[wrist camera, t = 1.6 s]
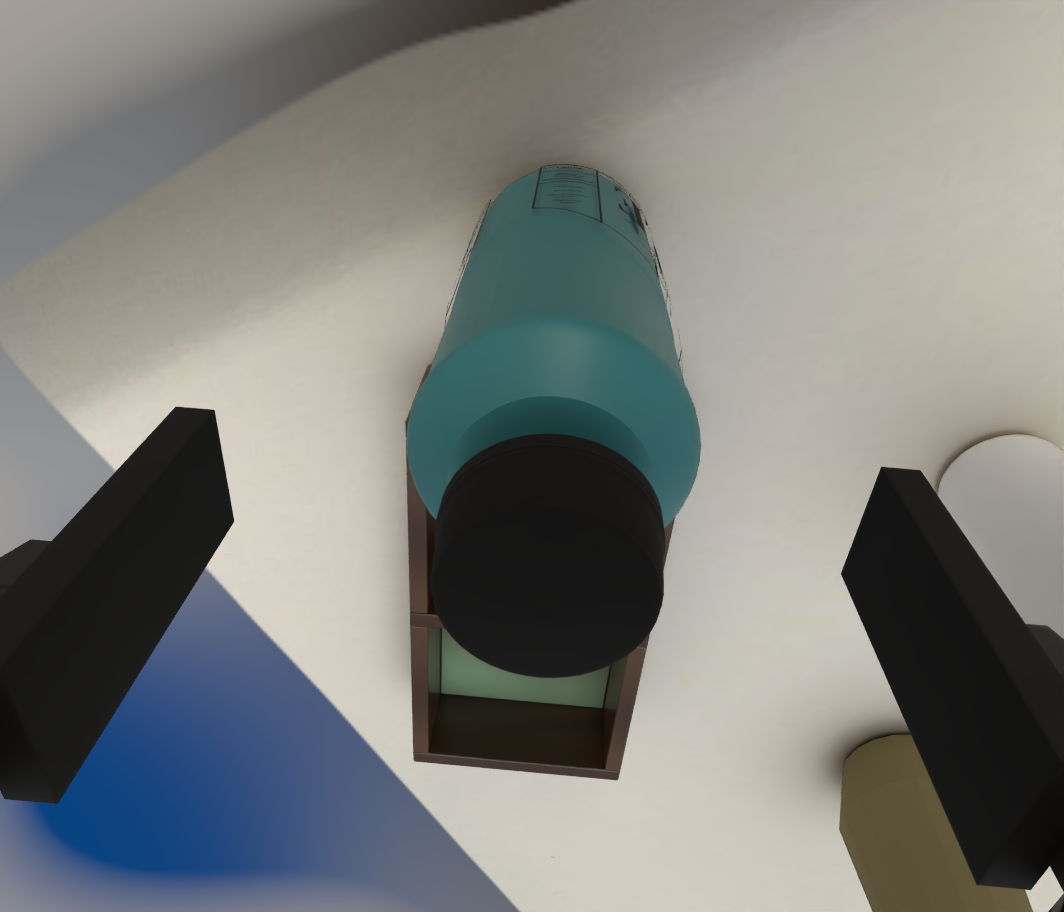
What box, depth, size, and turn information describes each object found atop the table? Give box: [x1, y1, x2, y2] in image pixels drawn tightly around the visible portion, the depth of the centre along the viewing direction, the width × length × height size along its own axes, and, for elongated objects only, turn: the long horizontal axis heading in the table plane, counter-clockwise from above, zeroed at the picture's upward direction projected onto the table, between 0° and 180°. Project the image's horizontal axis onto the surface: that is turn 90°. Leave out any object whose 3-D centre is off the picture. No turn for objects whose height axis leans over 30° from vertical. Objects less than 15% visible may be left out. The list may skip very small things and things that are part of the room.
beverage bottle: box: [406, 164, 701, 678], centre depth 21 cm, size 6×7×20 cm
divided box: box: [405, 365, 675, 780], centre depth 36 cm, size 20×11×5 cm, turn 176°
